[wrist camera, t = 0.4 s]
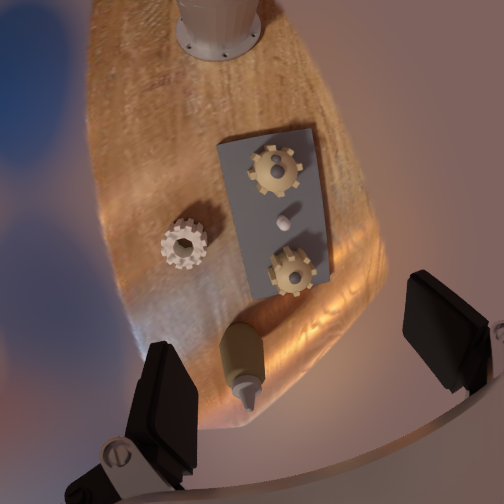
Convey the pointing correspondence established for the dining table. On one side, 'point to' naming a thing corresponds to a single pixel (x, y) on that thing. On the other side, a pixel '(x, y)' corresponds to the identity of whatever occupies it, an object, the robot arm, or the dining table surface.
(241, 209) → the gear board
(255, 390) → the squeeze bottle
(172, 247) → the cream idler gear
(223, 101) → the dining table surface
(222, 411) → the dining table surface
